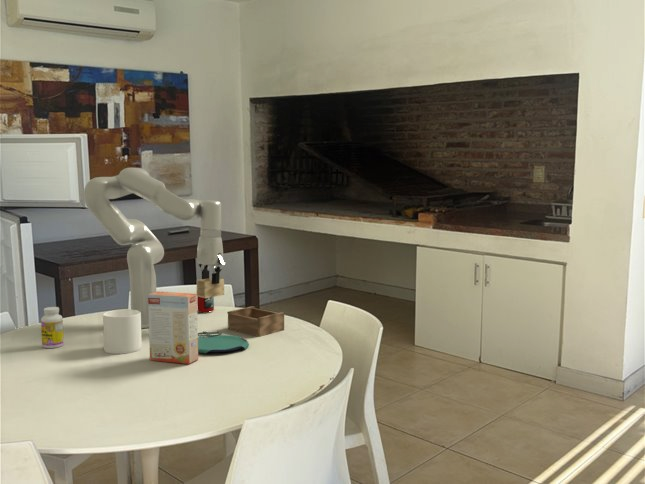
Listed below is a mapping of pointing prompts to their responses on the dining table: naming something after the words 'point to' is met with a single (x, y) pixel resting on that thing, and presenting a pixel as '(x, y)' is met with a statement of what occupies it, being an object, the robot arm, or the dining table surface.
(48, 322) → the supplement bottle
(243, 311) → the walnut crate
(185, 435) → the dining table surface
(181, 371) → the dining table surface
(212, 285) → the oak crate
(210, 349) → the cutlery set
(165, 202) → the robot arm
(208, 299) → the beverage can
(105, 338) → the cup
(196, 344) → the cracker box
